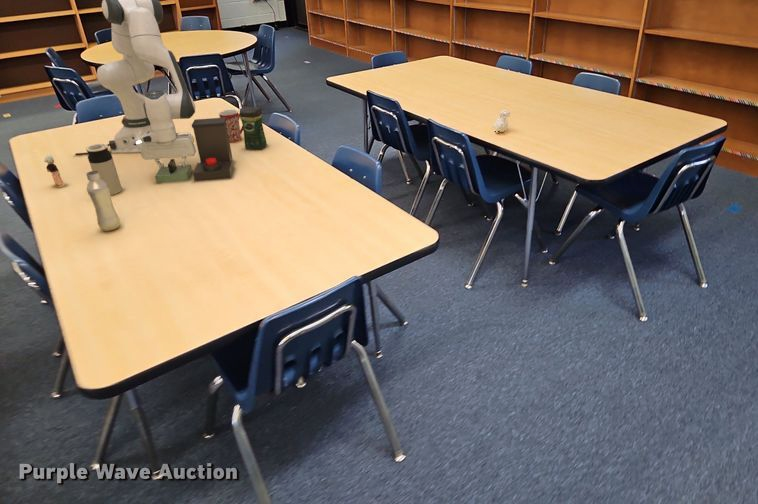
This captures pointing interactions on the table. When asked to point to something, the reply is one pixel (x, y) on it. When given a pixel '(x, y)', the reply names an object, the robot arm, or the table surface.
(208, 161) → the red button
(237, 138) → the mug
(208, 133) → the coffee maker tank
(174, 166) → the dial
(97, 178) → the plastic bottle
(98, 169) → the travel mug
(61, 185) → the grandmother figurine
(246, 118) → the coffee jar
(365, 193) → the table surface
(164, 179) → the panel
